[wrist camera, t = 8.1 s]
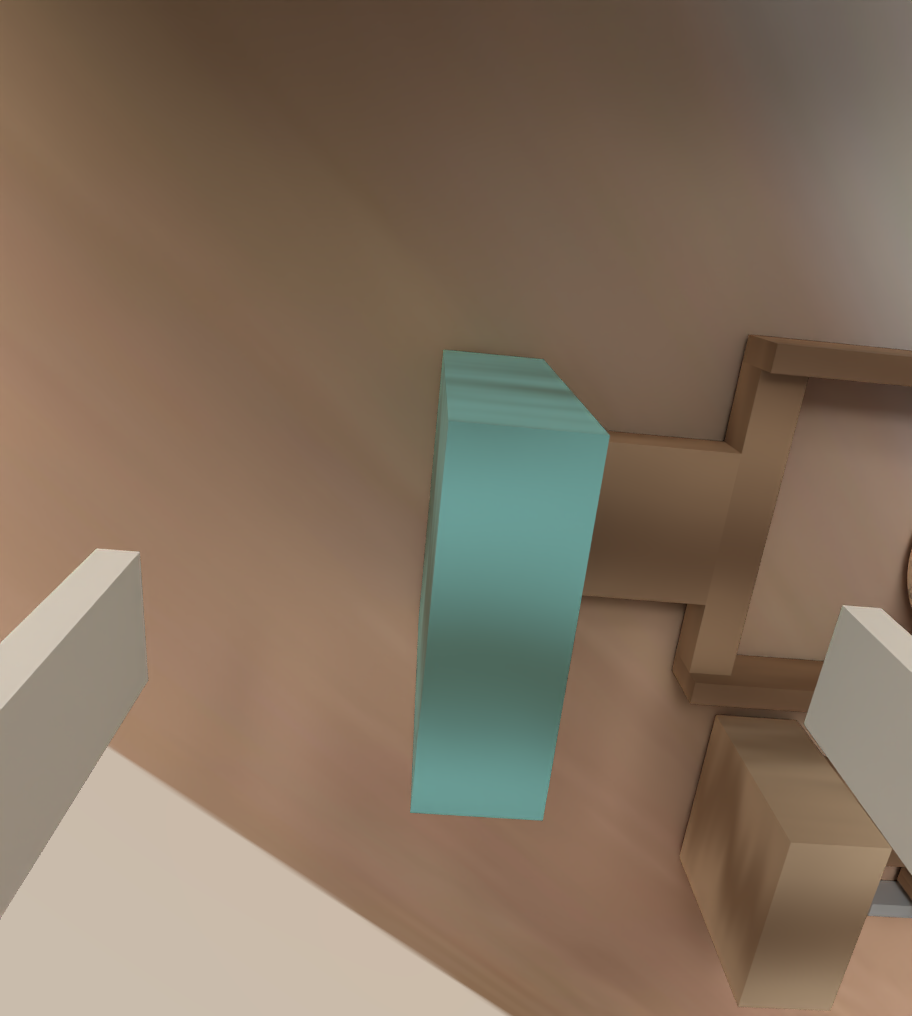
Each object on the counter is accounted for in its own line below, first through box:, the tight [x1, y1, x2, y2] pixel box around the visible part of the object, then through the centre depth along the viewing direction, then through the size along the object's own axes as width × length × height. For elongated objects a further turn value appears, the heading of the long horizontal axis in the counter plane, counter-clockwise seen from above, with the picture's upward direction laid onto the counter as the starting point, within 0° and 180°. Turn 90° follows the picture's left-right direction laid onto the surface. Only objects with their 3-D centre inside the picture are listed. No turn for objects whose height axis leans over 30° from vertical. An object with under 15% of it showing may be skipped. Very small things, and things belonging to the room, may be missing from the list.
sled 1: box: [410, 335, 912, 821], centre depth 20 cm, size 12×26×9 cm, turn 84°
